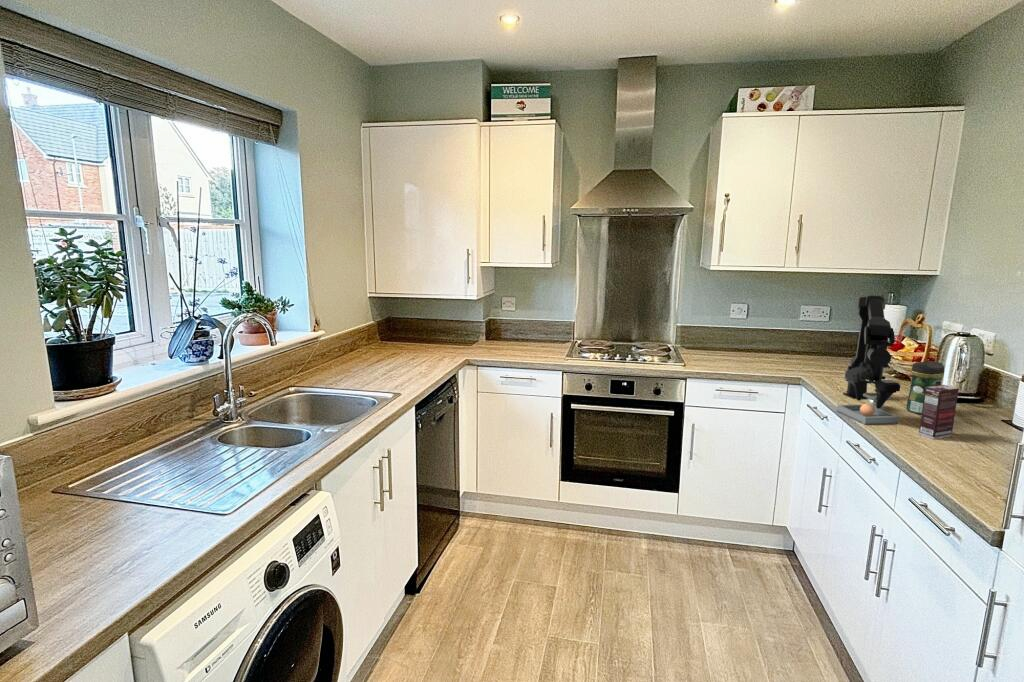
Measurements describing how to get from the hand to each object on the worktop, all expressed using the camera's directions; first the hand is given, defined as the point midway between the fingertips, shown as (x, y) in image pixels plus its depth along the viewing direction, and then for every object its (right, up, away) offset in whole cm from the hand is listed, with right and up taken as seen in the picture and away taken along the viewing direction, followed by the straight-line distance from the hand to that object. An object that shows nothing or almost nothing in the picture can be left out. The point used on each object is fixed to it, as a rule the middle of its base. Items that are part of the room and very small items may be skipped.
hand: (868, 404), depth 187 cm
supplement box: (+11, -8, -16) cm, 21 cm away
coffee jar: (+24, -4, +8) cm, 26 cm away
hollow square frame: (+10, -3, +12) cm, 16 cm away
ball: (0, -4, +1) cm, 4 cm away
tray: (0, -5, +1) cm, 5 cm away
